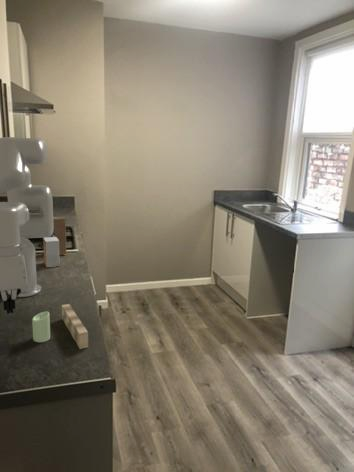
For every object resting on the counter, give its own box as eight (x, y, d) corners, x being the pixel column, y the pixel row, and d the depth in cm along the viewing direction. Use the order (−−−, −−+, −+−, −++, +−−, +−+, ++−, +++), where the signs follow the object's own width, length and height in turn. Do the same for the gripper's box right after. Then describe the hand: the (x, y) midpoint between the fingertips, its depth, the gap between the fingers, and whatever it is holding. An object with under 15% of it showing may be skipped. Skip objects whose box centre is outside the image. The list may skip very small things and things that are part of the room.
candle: (34, 343, 114) (32, 318, 112) (32, 336, 119) (31, 311, 117) (51, 340, 116) (50, 316, 115) (49, 333, 121) (48, 309, 119)
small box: (43, 262, 188) (42, 237, 185) (57, 261, 191) (56, 236, 188) (46, 267, 181) (45, 241, 178) (60, 266, 184) (59, 240, 181)
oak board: (62, 318, 131) (61, 305, 130) (69, 317, 132) (69, 303, 131) (79, 349, 113) (79, 333, 111) (88, 347, 114) (88, 332, 113)
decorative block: (44, 257, 197) (43, 219, 192) (43, 254, 202) (42, 217, 197) (66, 255, 202) (65, 218, 197) (65, 252, 207) (64, 216, 202)
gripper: (31, 245, 113) (34, 303, 117) (-25, 249, 106) (-20, 311, 110) (36, 251, 107) (39, 312, 111) (-24, 256, 100) (-19, 321, 103)
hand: (9, 311), depth 110 cm, fingers closed
